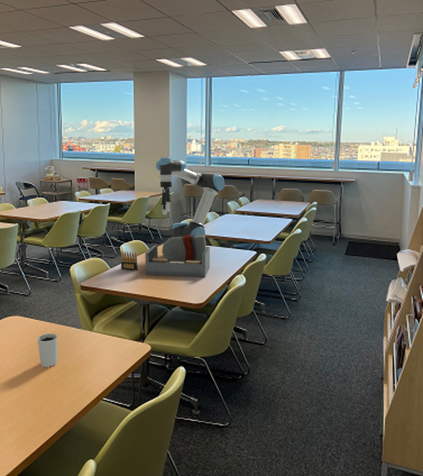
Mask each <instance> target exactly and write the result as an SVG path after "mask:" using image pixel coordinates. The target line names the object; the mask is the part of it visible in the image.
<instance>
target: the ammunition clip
mask: <svg viewBox="0 0 423 476" xmlns="http://www.w3.org/2000/svg"><path fill="white" fill-rule="evenodd" d="M137 257H138V256H137V252H135V251H129V252H128V251H121V259H120V260H121V263H120V264H121V265H120V270H121V269H127V270H126V271H134V270H136V272H137V271H138V270H139V269H138V258H137Z"/></svg>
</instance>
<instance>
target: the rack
mask: <svg viewBox="0 0 423 476" xmlns="http://www.w3.org/2000/svg"><path fill="white" fill-rule="evenodd" d="M210 249H211V246H206V249H205V251H204V252H203V254H202V262H201V264H193V263H186V261H168V263H167V262H152V260H153V259H159V256H158V255H159V253H158V251H159V250H158V244H154V245H153V246H151V247H150V248H149V249H148V250H147V251H146V252H145V256H144V257H145V276H161V277H163V276H165V277H186V278H187V277H191V278H193V277H194V278H206V276H207V274H208V272H209V270H210V264H211V261H210V260H211V255H210V254H211V253H210V251H211V250H210ZM169 262H184V263H169Z"/></svg>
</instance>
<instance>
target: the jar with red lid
mask: <svg viewBox="0 0 423 476" xmlns="http://www.w3.org/2000/svg"><path fill="white" fill-rule="evenodd" d="M206 247H207V242H206V235H205V236H204V235H199V236H192V235H188V236H183V237H173V236H172V237H170V238H168V239H167V240H166V241H165V242H164V243H163V244H162V248H161V249H162V250H161V253H162V256H163V259H168V261H201V262H202V254H203V252H204V251H205V249H206Z"/></svg>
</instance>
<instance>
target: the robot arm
mask: <svg viewBox="0 0 423 476" xmlns="http://www.w3.org/2000/svg"><path fill="white" fill-rule="evenodd" d="M155 167H156V169H157V170H158V171H159V174H160V175H159V176H158V177H159V180H160V183H159V184H160V188H162V195H161V203H160V205H161V206H162V209H161V212H162V215H167V214H168V213H169V212H171V202H172V200H171V195H170V194H171V193H170V188H172V187H173V186H172V185H173V184H172V179H173V176H175V177H177V178H179V179H182V180H185V181H187V182H189V183H190V184H191V185H194V186H196V187H198V188H200V189H202V190H203V193H202V196H201V199H200V202H198V206H197V208H196V211H195V213H194V216H193V218H192V220H191V221H189V223H188V222H187V221H186V222H184V221H183V222H176V223H173V224H172V230H171V231H172V238H173V237H183V236H188V235H192V236H199V235H204V236H205V237H206V230H205V223H206V219H207V217H208V214H209V212H210V209H211V207H212V204H213V201H214V199H215V196H217V195H219V193H220V191H223V189H224V188H225V179H224V177H223V176H222V175H221V174H217V173H214V174H213V173H201V172H198V171H191V170H189V169H187V168H186V167H187V166H186V163H185V161H184V160H177V159H176V160H172V158H171V157H160V159H159V160H157V161H156V163H155Z"/></svg>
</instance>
